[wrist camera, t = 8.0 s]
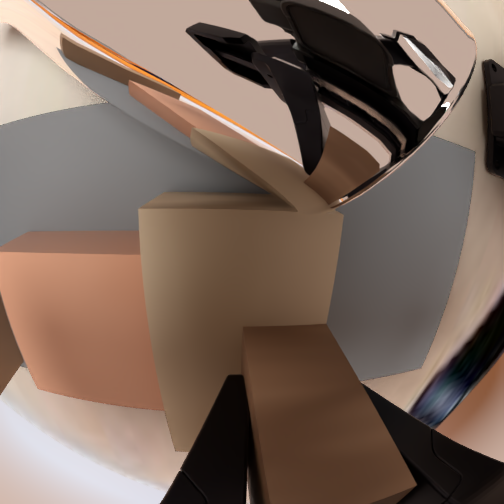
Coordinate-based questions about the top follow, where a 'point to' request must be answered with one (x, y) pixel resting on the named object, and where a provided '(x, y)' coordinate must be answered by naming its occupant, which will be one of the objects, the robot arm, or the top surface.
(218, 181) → the slate board
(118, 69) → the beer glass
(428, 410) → the top surface
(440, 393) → the top surface
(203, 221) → the two-tone stepped block
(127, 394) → the tile
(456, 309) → the top surface
